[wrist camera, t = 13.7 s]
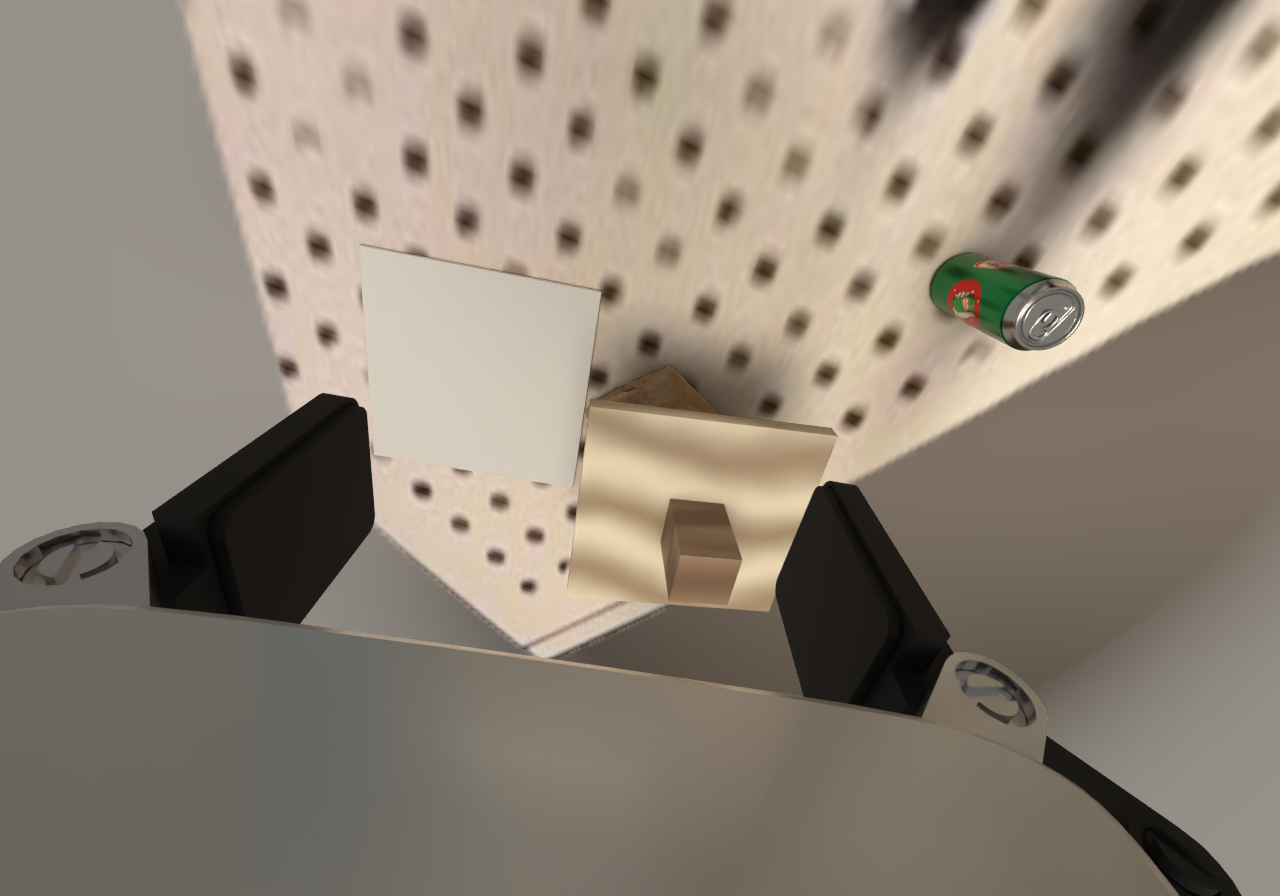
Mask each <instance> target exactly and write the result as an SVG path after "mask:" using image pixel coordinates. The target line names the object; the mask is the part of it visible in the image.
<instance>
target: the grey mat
mask: <svg viewBox="0 0 1280 896" xmlns="http://www.w3.org/2000/svg"><path fill="white" fill-rule="evenodd" d="M359 258H360V271H361V285H362V298H363V311H364V325H365V338H366V351H367V365H368V378H369V391H370V405H371V418H372V431H373V445H374V455H379V456H385V457H391V458H397V459H403V460H409V461H415V462H421V463H427V464H433V465H439V466H445V467H451V468H457V469H463V470H469V471H475V472H481V473H487V474H493V475H499V476H505V477H511V478H517V479H523V480H529V481H535V482H541V483H547V484H553V485H559V486H565V487H571V488H573V485H574V478H575V471H576V464H577V458H578V451H579V444H580V437H581V430H582V423H583V416H584V410H585V403H586V396H587V389H588V382H589V375H590V368H591V362H592V355H593V348H594V341H595V334H596V327H597V320H598V314H599V307H600V300H601V293H602V291H600V290H595V289H590V288H585V287H580V286H575V285H569V284H564V283H559V282H554V281H549V280H543V279H538V278H533V277H528V276H523V275H518V274H512V273H507V272H502V271H497V270H492V269H487V268H481V267H476V266H471V265H466V264H461V263H455V262H450V261H445V260H440V259H435V258H430V257H424V256H419V255H414V254H409V253H404V252H398V251H393V250H388V249H383V248H378V247H373V246H367V245H359Z"/></svg>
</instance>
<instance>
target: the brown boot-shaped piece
mask: <svg viewBox="0 0 1280 896" xmlns="http://www.w3.org/2000/svg"><path fill="white" fill-rule="evenodd" d="M598 400H605V401H613V402H621V403H629V404H638V405H646V406H654V407H662V408H671V409H679V410H687V411H695V412H703V413H712V414H718V413H717V412H716V411H715V410H714V409H713V407H712V406H711V405H710V404H709V403H708V402H707V401H706V400H705V399H704V398H703V397H702V396H701V395H700V394H699V393H698V392H697V391H696V390H695V389H694V388H693V387H692V386H691V385H690V384H689V383H688V382H687V381H686V380H685V379H684V378H683V377H682V376H681V375H680V374H679V373H678V372H677V371H676V370H675V369H674V368H672V367H670V366H668V367H665V368H663V370H660V371H656V372H652V373H648V374H647V375H646V376H643V377H641V378H639V379H637V380H633V381H631V382H630V383H629V384H628V385H625V386H621V387H619V388H616V389H614V390H612V391H611V392H610V393H608V394H607V395H605V396H603V397H601V398H600V399H598ZM589 408H590V406H588V407H587V409H586V410H585V414H586V416H587V417H588V416H589Z"/></svg>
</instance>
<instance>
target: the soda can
mask: <svg viewBox="0 0 1280 896" xmlns="http://www.w3.org/2000/svg"><path fill="white" fill-rule="evenodd" d="M931 295H932V299H933V302H934V304H935V305H936V306H937V307H938V308H939V309H940V310H942V311H943V312H945V313H947V314H949V315H951V316H953V317H955V318H957V319H959V320H961V321H962V322H964V323H966V324H968V325H970V326H972V327H974V328H976V329H978V330H980V331H981V332H983V333H985V334H987V335H989V336H991V337H993V338H995V339H997V340H999V341H1000V342H1002V343H1004V344H1006V345H1008V346H1010V347H1012V348H1014V349H1017V350H1022V351H1030V350H1045V349H1049V348H1052V347H1055V346H1057V345H1059V344H1061V343H1062V342H1064V341H1065V340H1066V339H1068V338H1069V337H1070V336H1071V335H1072V334H1073V333H1074V332H1075V330H1076V329H1077V328H1078V326H1079V325H1080V323H1081V321H1082V318H1083V315H1084V301H1083V298H1082V297H1081V295H1080V294H1079V293H1078V292H1077V290H1076V288H1075V287H1074V286H1073V285H1072V284H1071V283H1070V282H1068V281H1067V280H1064V279H1062V278H1058V277H1055V276H1051V275H1048V274H1045V273H1041V272H1038V271H1034V270H1031V269H1028V268H1024V267H1021V266H1017V265H1014V264H1010V263H1007V262H1004V261H1000V260H997V259H993V258H990V257H986V256H983V255H980V254H975V253H967V254H962V255H959V256H957V257H954V258H953V259H951V260H949V261H948V262H947V263H946V264H945V265H944V266H943V267H942V268H941V269H940V270H939V271H938V273H937V274H936V276H935V278H934V281H933V284H932V289H931Z"/></svg>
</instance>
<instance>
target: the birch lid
mask: <svg viewBox="0 0 1280 896" xmlns="http://www.w3.org/2000/svg"><path fill="white" fill-rule="evenodd" d="M837 437H838V436H837V434H836V433H835V432H834V431H833V430H832V428H827V427H819V426H810V425H802V424H794V423H786V422H777V421H769V420H761V419H753V418H745V417H736V416H728V415H720V414H712V413H703V412H695V411H687V410H679V409H671V408H662V407H654V406H646V405H638V404H629V403H621V402H613V401H605V400H597V399H591V400H590V408H589V416H588V424H587V432H586V440H585V448H584V456H583V464H582V472H581V480H580V488H579V497H578V505H577V513H576V521H575V529H574V537H573V545H572V553H571V561H570V569H569V577H568V585H567V596H566V597H574V598H588V599H602V600H616V601H629V602H643V603H657V604H671V605H685V606H700V607H713V608H728V609H741V610H742V609H743V610H755V611H769V609H770V607H771V604H772V602H773V599H774V597H775V587H776V581H777V578H778V575H779V573H780V571H781V568H782V566H783V563H784V561H785V559H786V556H787V554H788V551H789V549H790V547H791V544H792V542H793V539H794V537H795V535H796V532H797V530H798V528H799V525H800V523H801V520H802V518H803V516H804V513H805V511H806V508H807V506H808V504H809V501H810V499H811V496H812V494H813V492H814V490H815V488H816V487H818V485H819V483H820V480H821V478H822V475H823V473H824V470H825V468H826V465H827V463H828V460H829V457H830V455H831V452H832V450H833V447H834V445H835V442H836V440H837Z"/></svg>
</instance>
